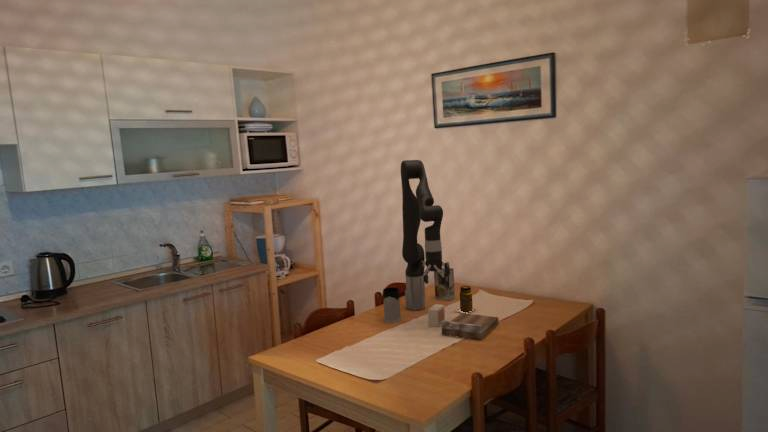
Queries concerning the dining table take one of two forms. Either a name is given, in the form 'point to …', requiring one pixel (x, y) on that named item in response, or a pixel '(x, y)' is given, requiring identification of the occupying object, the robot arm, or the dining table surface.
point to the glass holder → (391, 305)
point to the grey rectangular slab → (469, 326)
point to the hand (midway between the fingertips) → (435, 284)
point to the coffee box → (444, 286)
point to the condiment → (465, 299)
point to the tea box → (436, 315)
